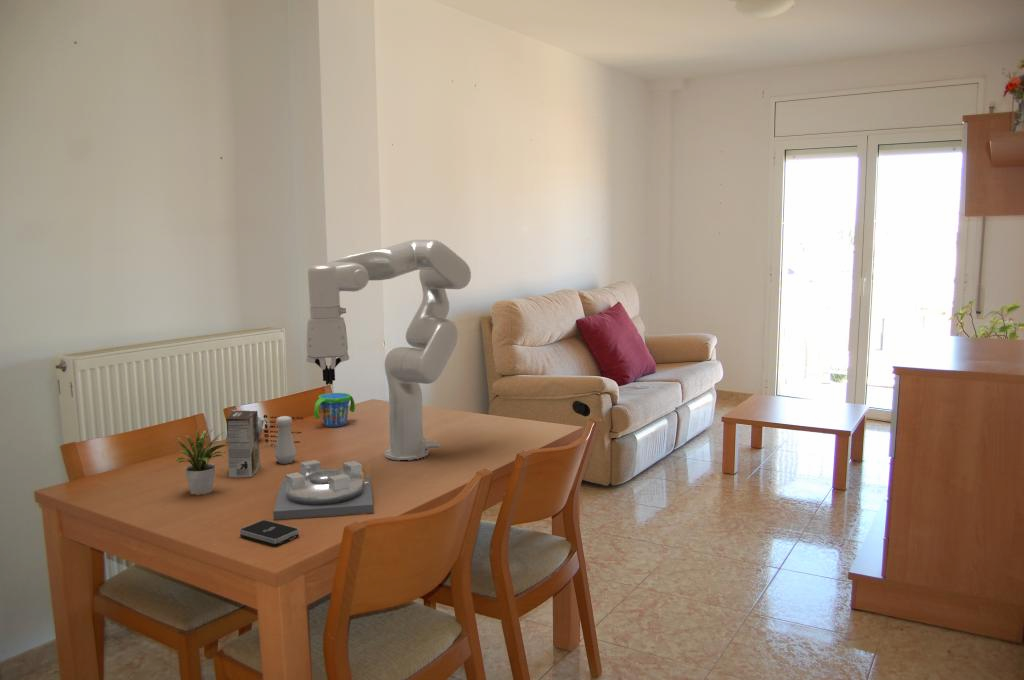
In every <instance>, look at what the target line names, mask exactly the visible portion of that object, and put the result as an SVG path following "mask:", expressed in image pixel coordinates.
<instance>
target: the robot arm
mask: <svg viewBox="0 0 1024 680" xmlns="http://www.w3.org/2000/svg"><path fill="white" fill-rule="evenodd" d="M307 270H308V271H307V279H308V280H307V281H308V294H309V295H308V296H309V311H310V313H309V315H310V316H309V317H310V318H308V319H307V325H306V354H307V356H306V362H307V363H312V364H315V365H317V366H318V367H319V368H320V369H321V371H322V381H323V382H325V385H333V382H334V381H336V371H335V368H337V367H338V365H339V364H340V363H342V362H346V361H349V360H350V356H349V353H348V347H349V346H348V344H349V343H348V334H347V328H346V327H347V326H346V322H345V321H346V320H345V319H344V318H345V317H344V316H343V317H341V315H344V314H347V308H345V307H341V301H340V292H353V293H354V292H359V291H361V290H362V289H364V288H365V287H366V286H367V285H368V283H369V281H385V280H386V281H387V280H392V279H394V278H397V277H400V276H403V275H405V274H406V275H407V274H408V273H412V272H414V271H418V270H419V272H418V273H419V274H418V275H419V276H418V277H419V281H420V284H421V289H422V300H421V303H420V305H419V307H418V309H417V310H416V312H415V314H414V316H413V317H412V320H411V321H410V323H409V325H408V328H407V330H406V332H405V340H406V343H407V344H408V345H409V346H411V347H408V346H398V347H395V348H392V349H391V350H390V351H388V353H387V354H386V357H385V360H384V371H385V375H386V380H387V384H388V385H387V387H388V412H389V413H388V415H389V418H388V419H389V448H388V449H386V450H385V451H384V457H386V459H388V460H393V461H400V460H408V461H414V460H413V459H417V460H420V459H419V458H421V459H423V458H422V457H424V456H426V455H427V456H429V449H433V450H434V449H439V448H440V442H439V441H435V440H425V438H424V436H423V435H424V434H423V433H424V429H423V427H424V425H423V421H424V420H423V417H424V416H423V391H422V388H421V385H420V384H426V385H428V384H429V385H430V384H433V383H435V382H436V381H437V380H439V378H440V376H441V375H442V373H443V371H444V369H445V368H446V366H447V364H448V362H449V360H450V358H451V357H452V354H453V353H454V351H455V348H456V346H457V343H458V339H459V334H458V333H459V332H458V329H457V326H456V324H455V323H454V322H453V321H452V320H450V319H448V318H447V317H448V315H449V312H450V301H449V298H448V295H447V291H446V290H463V289H464V288H466V287H467V286H468V284H469V283H470V281H471V279H472V274H471V273H472V272H471V267H470V266H469V265H468V263H467V262H466V261H465V260H464V259H463V258H462V257H460V256H459V255H458V254H457V253H456V252H455V251H453V250H452V249H451V247H448V246H447V245H446V244H444V243H442V242H441V241H439V240H436V239H412V240H406V241H403V242H401V243H397V244H394V245H391V246H388V247H384V248H380V249H375V250H370V251H365V252H363V253H357V254H351V255H347V256H343V257H340V258H337V259H333V260H330V261H327V262H326V263H324V264H316V265H314V264H313V265H311V266H309V268H308V269H307ZM326 358H327V359H328V358H330V365H329V366H328V364H327V362H326ZM427 456H426V457H427ZM424 458H425V457H424Z"/></svg>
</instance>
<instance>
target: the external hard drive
mask: <svg viewBox="0 0 1024 680" xmlns="http://www.w3.org/2000/svg"><path fill="white" fill-rule="evenodd" d="M239 535H240V537H241V538H243V539H245V538H246V540H250V541H254V542H257V543H260V544H263V545H267V546H271V547H275V548H276V547H278V546H280V545H283V544H285V543H287V542H290V541H292V540H295V539H296V538H298V537H299V536H300V532H299V528H298V527H294V526H290V525H286V524H284V523H282V524H281V523H279V522H274V521H271V520H267V519H262V520H259V521H257V522H254V523H252V524H250V525H246V526H245V527H242V528H240V529H239Z"/></svg>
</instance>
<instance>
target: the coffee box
mask: <svg viewBox="0 0 1024 680" xmlns="http://www.w3.org/2000/svg"><path fill="white" fill-rule="evenodd" d="M258 417H259V415H258V410H238V411H234V412H233V413H232V414H231V415H230V414H229V415H228V416H227V418H226V437H227V444H232V445H227V456H228V457H227V459H228V460H227V461H228V476H229V477H228V478H252V477H254V476H255V475H256V474H257V472H258V471H259V469H260V468H261V457H260V438H259V432H258Z"/></svg>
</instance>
